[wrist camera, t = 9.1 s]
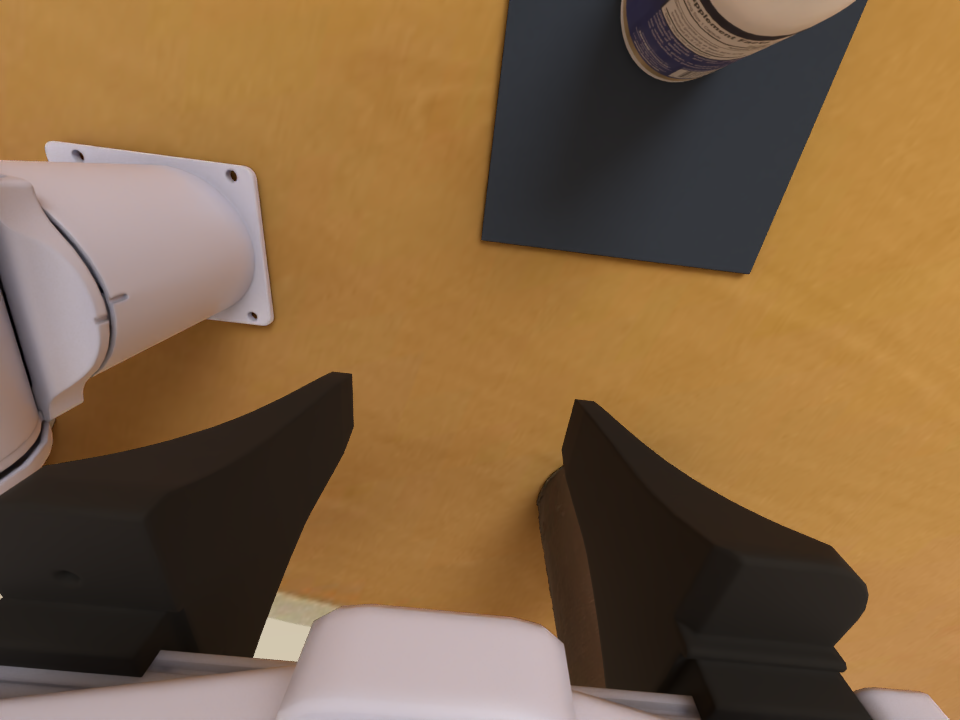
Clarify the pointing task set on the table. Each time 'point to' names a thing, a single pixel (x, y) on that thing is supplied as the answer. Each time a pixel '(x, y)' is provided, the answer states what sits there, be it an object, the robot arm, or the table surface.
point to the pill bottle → (712, 31)
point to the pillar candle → (570, 583)
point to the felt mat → (647, 139)
